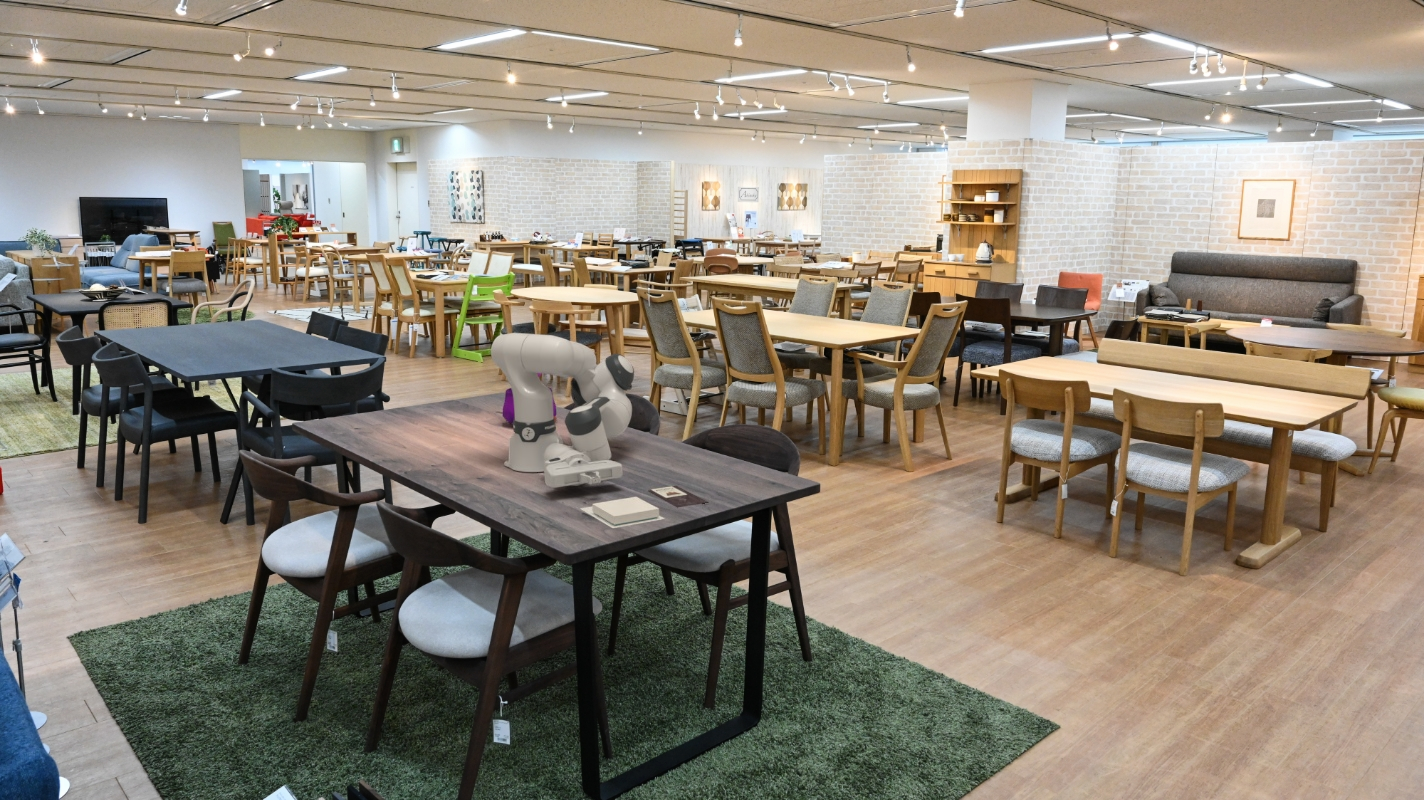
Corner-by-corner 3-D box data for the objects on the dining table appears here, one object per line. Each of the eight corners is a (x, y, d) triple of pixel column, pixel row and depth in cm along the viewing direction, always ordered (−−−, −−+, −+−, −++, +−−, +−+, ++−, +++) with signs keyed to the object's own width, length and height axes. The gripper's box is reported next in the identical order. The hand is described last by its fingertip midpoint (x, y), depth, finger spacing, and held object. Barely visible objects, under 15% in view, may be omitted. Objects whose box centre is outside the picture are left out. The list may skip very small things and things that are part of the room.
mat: (579, 510, 244) (579, 508, 244) (629, 502, 251) (629, 500, 251) (612, 530, 229) (612, 528, 229) (665, 520, 236) (665, 518, 236)
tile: (592, 503, 240) (614, 516, 230) (635, 496, 246) (659, 508, 236) (592, 513, 240) (614, 526, 230) (636, 505, 246) (659, 518, 236)
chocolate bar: (677, 507, 245) (646, 490, 261) (677, 510, 245) (646, 493, 261) (708, 502, 250) (676, 485, 265) (708, 505, 250) (676, 489, 265)
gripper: (611, 474, 268) (632, 486, 256) (539, 485, 258) (558, 498, 246) (610, 452, 266) (632, 463, 255) (538, 461, 256) (558, 474, 245)
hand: (595, 480), depth 250 cm, fingers closed
